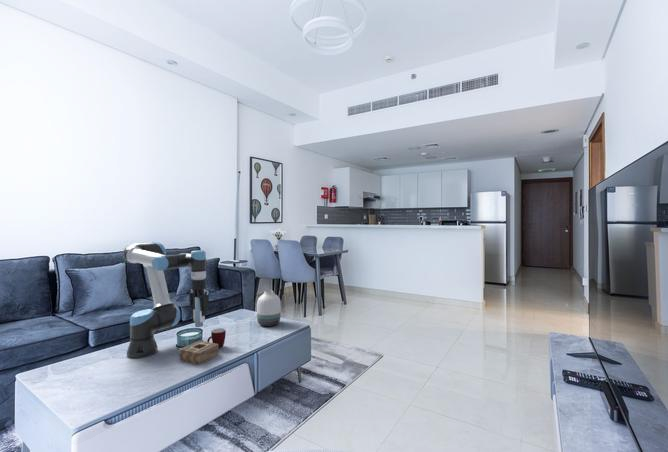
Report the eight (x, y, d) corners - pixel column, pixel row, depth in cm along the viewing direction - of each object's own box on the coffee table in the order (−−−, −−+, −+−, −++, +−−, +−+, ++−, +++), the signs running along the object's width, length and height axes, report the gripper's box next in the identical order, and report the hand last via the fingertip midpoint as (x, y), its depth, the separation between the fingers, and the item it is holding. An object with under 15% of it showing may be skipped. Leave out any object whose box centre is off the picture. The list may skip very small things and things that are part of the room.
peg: (193, 326, 176) (193, 297, 176) (199, 324, 180) (198, 295, 180) (199, 327, 174) (198, 298, 174) (204, 325, 178) (204, 296, 178)
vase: (256, 321, 240) (256, 289, 240) (279, 319, 245) (278, 288, 245) (257, 329, 224) (257, 294, 224) (282, 326, 229) (282, 293, 229)
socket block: (179, 360, 174) (179, 348, 174) (199, 350, 187) (199, 340, 187) (199, 364, 168) (199, 353, 168) (218, 354, 181) (218, 343, 181)
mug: (211, 352, 184) (211, 335, 184) (204, 348, 189) (204, 332, 189) (228, 347, 192) (228, 330, 192) (221, 343, 197) (221, 327, 197)
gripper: (181, 278, 177) (182, 321, 177) (205, 280, 170) (205, 325, 170) (192, 276, 184) (193, 317, 184) (215, 278, 177) (216, 321, 177)
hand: (199, 321), depth 177 cm, fingers closed on peg, 4 cm apart
